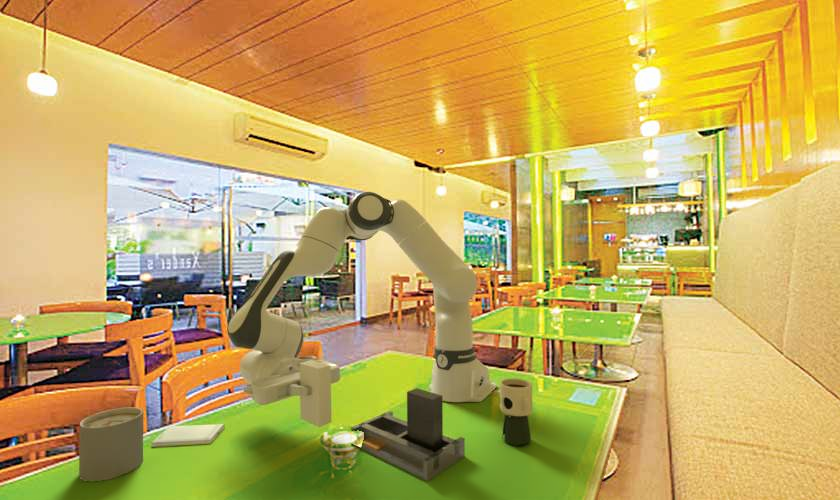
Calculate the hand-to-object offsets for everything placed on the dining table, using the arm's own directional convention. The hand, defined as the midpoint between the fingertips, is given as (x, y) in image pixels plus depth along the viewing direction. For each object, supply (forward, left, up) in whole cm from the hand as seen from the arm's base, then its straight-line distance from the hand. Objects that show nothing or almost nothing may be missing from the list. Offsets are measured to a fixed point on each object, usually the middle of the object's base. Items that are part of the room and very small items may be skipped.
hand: (317, 389), depth 84 cm
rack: (-13, +14, -13) cm, 23 cm away
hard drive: (+15, -29, -14) cm, 35 cm away
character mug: (-32, +30, -14) cm, 46 cm away
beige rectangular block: (0, -1, -7) cm, 7 cm away
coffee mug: (+29, -27, -14) cm, 42 cm away
